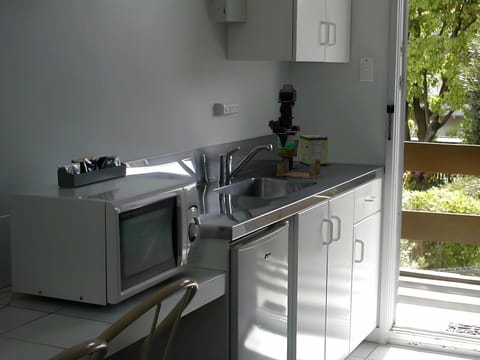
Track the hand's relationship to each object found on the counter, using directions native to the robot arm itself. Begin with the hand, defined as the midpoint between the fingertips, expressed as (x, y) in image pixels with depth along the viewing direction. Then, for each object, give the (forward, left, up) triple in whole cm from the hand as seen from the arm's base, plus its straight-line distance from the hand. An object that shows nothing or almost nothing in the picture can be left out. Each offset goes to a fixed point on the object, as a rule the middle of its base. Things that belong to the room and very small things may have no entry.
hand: (286, 147), depth 356 cm
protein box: (-39, -2, -14) cm, 41 cm away
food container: (+1, 0, -4) cm, 5 cm away
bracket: (+3, +8, -13) cm, 16 cm away
